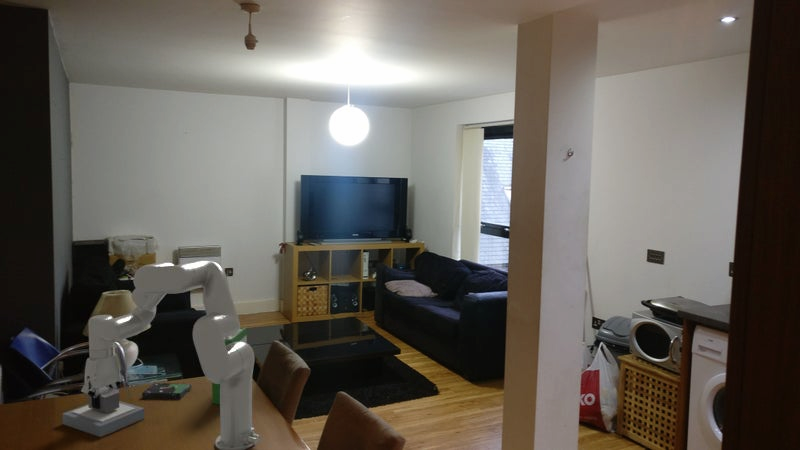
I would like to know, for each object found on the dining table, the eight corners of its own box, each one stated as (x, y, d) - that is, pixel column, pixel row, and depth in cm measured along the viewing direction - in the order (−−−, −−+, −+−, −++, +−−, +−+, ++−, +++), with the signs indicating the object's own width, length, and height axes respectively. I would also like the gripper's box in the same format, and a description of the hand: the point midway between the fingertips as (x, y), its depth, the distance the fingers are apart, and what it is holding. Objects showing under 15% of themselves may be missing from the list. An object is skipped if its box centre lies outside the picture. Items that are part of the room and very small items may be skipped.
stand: (144, 418, 188) (144, 407, 188) (100, 437, 174) (100, 425, 174) (107, 407, 198) (106, 396, 197) (62, 424, 183) (62, 412, 183)
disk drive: (141, 400, 206) (181, 400, 206) (141, 392, 206) (181, 392, 206) (154, 389, 216) (191, 389, 216) (153, 383, 216) (191, 382, 216)
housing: (102, 402, 190) (101, 385, 189) (119, 407, 186) (118, 390, 185) (88, 407, 185) (87, 390, 185) (105, 412, 181) (105, 395, 181)
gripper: (118, 344, 193) (119, 394, 195) (70, 357, 178) (72, 412, 180) (132, 347, 190) (133, 398, 191) (84, 361, 175) (86, 416, 176)
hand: (103, 404), depth 185 cm, fingers closed on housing, 4 cm apart
